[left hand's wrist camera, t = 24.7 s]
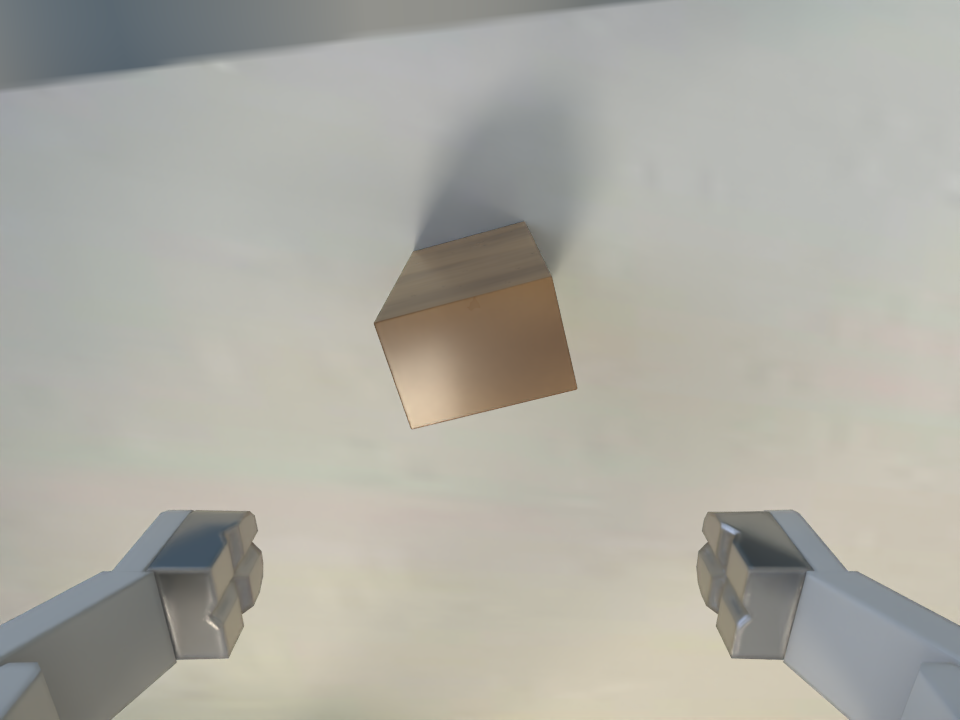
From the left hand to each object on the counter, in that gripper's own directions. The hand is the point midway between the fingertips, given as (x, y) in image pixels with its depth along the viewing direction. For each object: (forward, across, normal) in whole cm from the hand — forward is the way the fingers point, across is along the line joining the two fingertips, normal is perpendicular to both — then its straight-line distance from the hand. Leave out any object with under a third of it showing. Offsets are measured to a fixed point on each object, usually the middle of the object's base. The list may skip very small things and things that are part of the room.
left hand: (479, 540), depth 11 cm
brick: (+21, 0, 0) cm, 21 cm away
